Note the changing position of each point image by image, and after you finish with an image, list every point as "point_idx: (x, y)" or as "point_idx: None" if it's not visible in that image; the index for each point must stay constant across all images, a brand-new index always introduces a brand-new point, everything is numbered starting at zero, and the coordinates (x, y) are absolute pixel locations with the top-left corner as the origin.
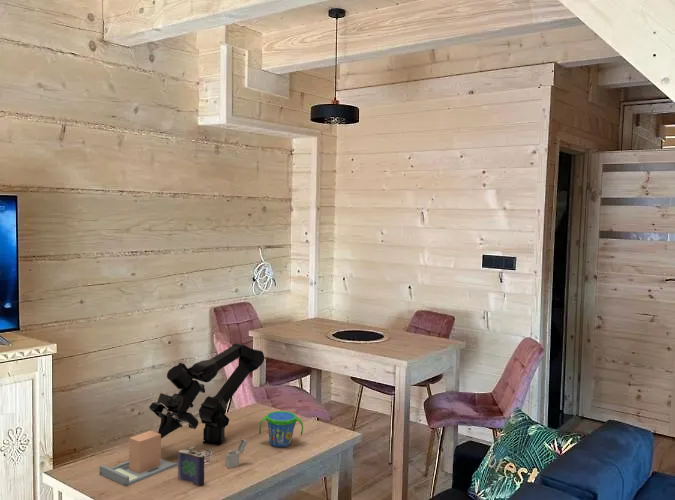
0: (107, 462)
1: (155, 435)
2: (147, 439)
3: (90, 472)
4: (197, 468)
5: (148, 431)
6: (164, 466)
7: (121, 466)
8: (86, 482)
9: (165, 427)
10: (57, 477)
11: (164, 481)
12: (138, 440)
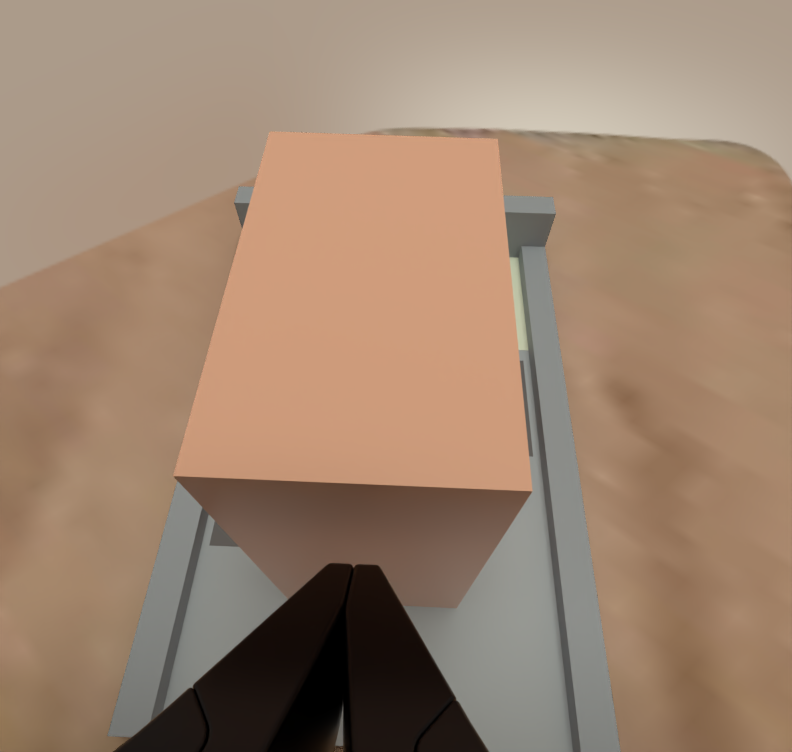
0: (721, 390)
1: (237, 375)
2: (247, 228)
3: (621, 247)
4: None
5: (521, 429)
6: (231, 605)
7: (531, 366)
8: (503, 179)
9: (180, 708)
10: (674, 143)
11: (69, 423)
12: (318, 145)
